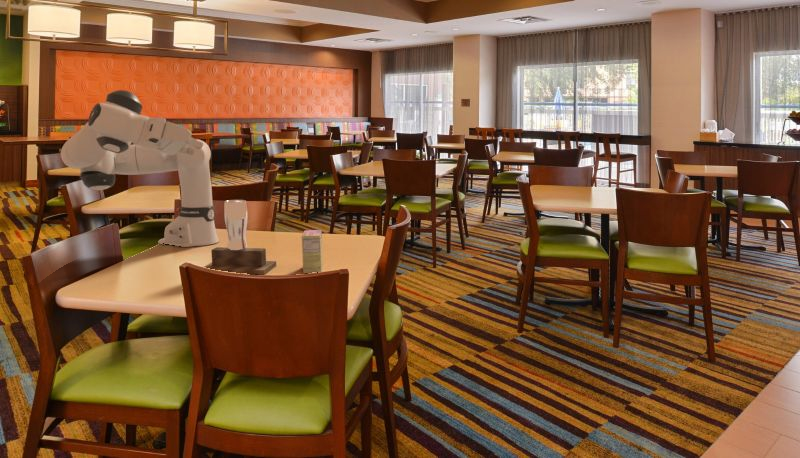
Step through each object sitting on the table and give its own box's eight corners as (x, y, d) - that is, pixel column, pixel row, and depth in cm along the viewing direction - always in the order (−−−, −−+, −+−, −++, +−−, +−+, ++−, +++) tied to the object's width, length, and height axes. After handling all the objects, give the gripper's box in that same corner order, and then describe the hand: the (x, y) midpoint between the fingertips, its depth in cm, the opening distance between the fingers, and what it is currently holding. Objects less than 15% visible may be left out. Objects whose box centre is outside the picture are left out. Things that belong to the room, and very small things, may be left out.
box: (304, 266, 198) (303, 229, 195) (322, 265, 198) (321, 229, 196) (302, 274, 187) (301, 236, 185) (321, 273, 188) (320, 235, 186)
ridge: (200, 273, 188) (199, 252, 187) (216, 264, 200) (215, 244, 199) (264, 275, 186) (263, 254, 185) (276, 265, 198) (275, 245, 197)
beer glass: (233, 245, 197) (230, 199, 194) (252, 246, 195) (250, 200, 192) (221, 250, 190) (219, 202, 187) (242, 251, 188) (239, 203, 186)
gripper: (140, 150, 187) (185, 165, 194) (155, 136, 170) (204, 152, 177) (146, 131, 188) (190, 146, 195) (161, 115, 171) (210, 132, 178)
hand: (197, 149), depth 186 cm, fingers open, 8 cm apart
